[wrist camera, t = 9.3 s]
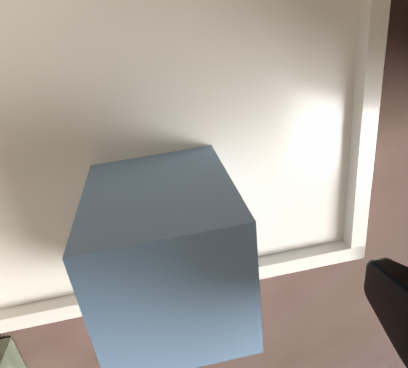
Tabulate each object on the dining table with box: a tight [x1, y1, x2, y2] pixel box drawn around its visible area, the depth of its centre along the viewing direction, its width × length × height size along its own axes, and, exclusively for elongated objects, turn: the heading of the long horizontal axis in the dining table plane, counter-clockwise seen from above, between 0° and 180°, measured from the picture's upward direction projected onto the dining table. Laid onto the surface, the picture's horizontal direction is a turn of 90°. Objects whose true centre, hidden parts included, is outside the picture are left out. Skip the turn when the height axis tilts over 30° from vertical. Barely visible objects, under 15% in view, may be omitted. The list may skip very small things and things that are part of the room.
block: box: [62, 145, 263, 368], centre depth 10 cm, size 4×4×5 cm
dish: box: [0, 0, 391, 333], centre depth 11 cm, size 15×13×1 cm
